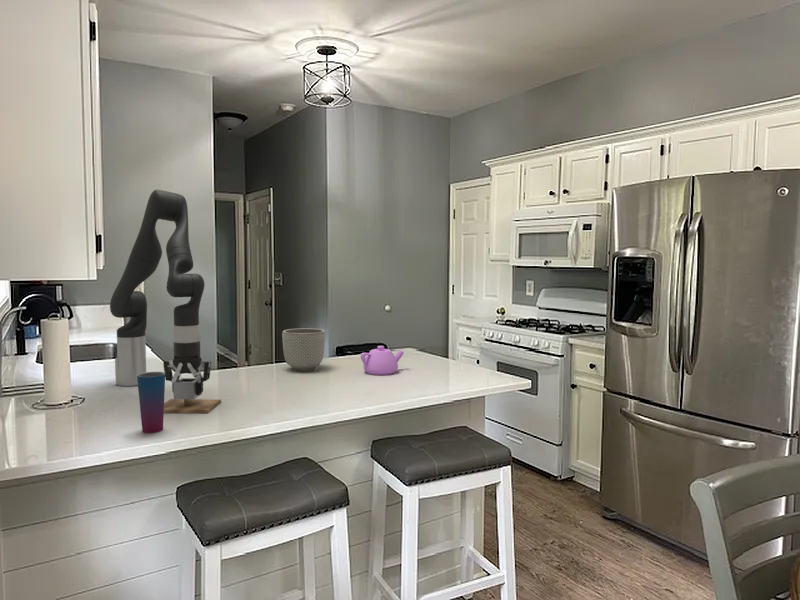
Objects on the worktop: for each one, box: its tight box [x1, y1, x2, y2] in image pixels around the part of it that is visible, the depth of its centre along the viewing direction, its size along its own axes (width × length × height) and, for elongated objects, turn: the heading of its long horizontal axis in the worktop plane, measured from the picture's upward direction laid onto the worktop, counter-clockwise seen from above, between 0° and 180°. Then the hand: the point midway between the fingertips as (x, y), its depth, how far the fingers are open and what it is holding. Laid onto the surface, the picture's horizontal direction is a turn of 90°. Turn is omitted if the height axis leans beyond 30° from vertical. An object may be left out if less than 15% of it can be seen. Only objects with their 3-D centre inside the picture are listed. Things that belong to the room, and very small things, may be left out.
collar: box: [172, 377, 203, 399], centre depth 169 cm, size 6×6×5 cm
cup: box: [137, 371, 166, 434], centre depth 147 cm, size 7×7×15 cm
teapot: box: [360, 345, 404, 376], centre depth 224 cm, size 14×20×11 cm
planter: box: [281, 327, 326, 373], centre depth 227 cm, size 17×17×16 cm
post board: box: [164, 398, 222, 414], centre depth 169 cm, size 16×12×7 cm
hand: (188, 394), depth 169 cm, fingers closed on collar, 6 cm apart
